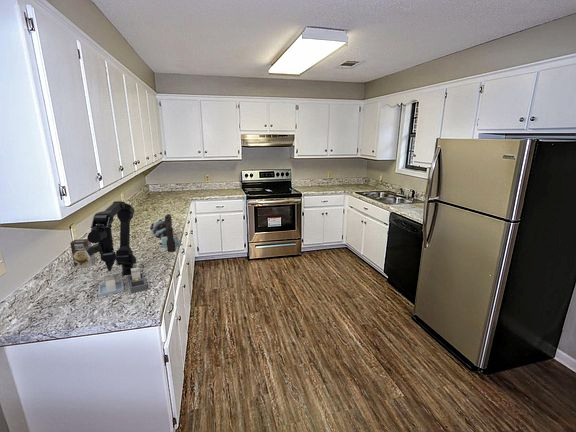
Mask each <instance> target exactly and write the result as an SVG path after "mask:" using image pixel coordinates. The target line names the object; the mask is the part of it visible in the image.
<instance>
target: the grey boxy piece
mask: <svg viewBox="0 0 576 432" xmlns="http://www.w3.org/2000/svg"><path fill="white" fill-rule="evenodd" d="M127 281H128V286H129V290H130V294H136V293H139V292H144V291H148V284H147V281H146V278H145V274H144V272H141V270H140V266H139V267H133V268H131V275H127Z"/></svg>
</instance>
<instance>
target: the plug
mask: <svg viewBox="0 0 576 432" xmlns="http://www.w3.org/2000/svg"><path fill="white" fill-rule="evenodd" d="M115 280H116V279H115V274H110V275H109V274H108V275H104V282H105V283H104V284H106V289H107V292H108V291H113V290H116V285H115V282H116V281H115Z"/></svg>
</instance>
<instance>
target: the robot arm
mask: <svg viewBox="0 0 576 432" xmlns="http://www.w3.org/2000/svg"><path fill="white" fill-rule="evenodd" d="M134 213H135V208H134V207H133V206H132V205H131V204H129V203H126V202H124V201H122V200H119V201H118V200H117V201H113V202H112V203H111V205H110V206H108V207H107V208H106V209H105V210H103V211H98V212H96V213H95V214H94V215H93V218H92V222H91V226H90V230H91V231H90V232H89V233H88V234H87V237H86V239H88V240H89V241H90V242H91V244H92V246H90V247H88V248H86V251H87V253H88V255H89V256H91V255H93V256H94V254H97V253H99V256H100V260H101V262H104V263H105V266H106V268H107V272H111V271H112V269H113V266H114V264H115V262H116V265H117V266H121V269H122V270H121V276H122V277H125V276H129V275H131V268H134V265H135V264H137V257H136V256H135V254H134V252H133V250H132V249H131V247H130V246H131V245H130V243H131V240H130V232H131V231H130V229H131V221H132V219H133V218H134ZM115 216H116V217H117V219H118V220H119V222H120V224H119V226H120V229H119V230H120V231H119V248H118V249H117V250H116V251H115V248H114V244H113V243H114V240H113V235H112V234H113V233H112V232H113V231H112V228H113V225H112V224H113V222H114V217H115Z"/></svg>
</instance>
